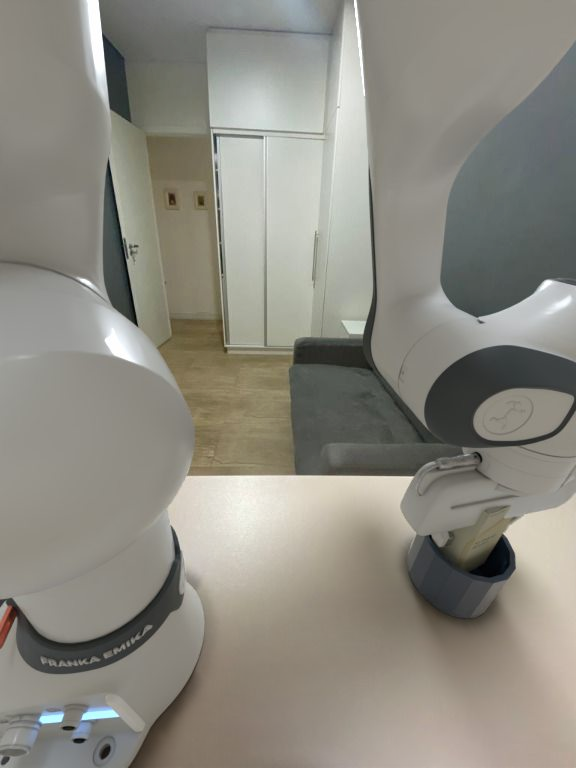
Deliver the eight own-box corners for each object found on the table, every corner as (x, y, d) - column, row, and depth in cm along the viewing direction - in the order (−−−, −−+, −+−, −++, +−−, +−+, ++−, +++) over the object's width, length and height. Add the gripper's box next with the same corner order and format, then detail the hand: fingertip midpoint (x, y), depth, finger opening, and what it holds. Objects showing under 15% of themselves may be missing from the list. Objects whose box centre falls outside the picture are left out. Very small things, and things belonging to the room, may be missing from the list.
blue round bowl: (438, 628, 36) (461, 591, 32) (392, 546, 45) (405, 509, 41) (509, 607, 39) (538, 571, 35) (452, 533, 47) (470, 497, 44)
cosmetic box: (450, 582, 37) (489, 517, 31) (423, 550, 41) (453, 485, 35) (485, 563, 40) (527, 498, 34) (456, 533, 43) (490, 470, 37)
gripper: (448, 488, 26) (407, 579, 33) (622, 457, 31) (555, 542, 37) (406, 440, 31) (378, 527, 38) (560, 420, 36) (511, 501, 43)
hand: (467, 534), depth 38 cm, fingers closed on cosmetic box, 6 cm apart
